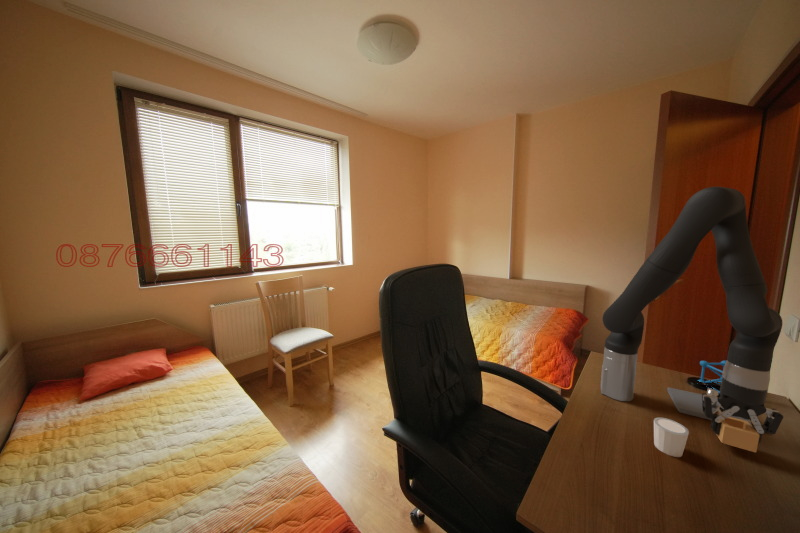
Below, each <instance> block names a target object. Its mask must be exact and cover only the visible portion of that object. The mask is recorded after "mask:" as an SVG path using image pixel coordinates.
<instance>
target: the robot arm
mask: <svg viewBox="0 0 800 533" xmlns="http://www.w3.org/2000/svg"><path fill="white" fill-rule="evenodd" d="M746 205H747V204H746V197H745V195H744V194H743V193H742V192H741V191H739V190H738V189H735V188H733V187H732V188H731V187H723V186H710V187H705V188H703V189H701V190H698V191H697V192H695V193H693V195H692V196H691V197H690V198H688V200H687V202H686V203H685V204H684V206H683V208H682V210H681V211H680V213H679V215H678V216H677V219H675V222H674V224H673V225H672V226H671V228H670V229H669V231H668V232H667V233H666V235H665V236H664V237H663V238H662V239H661V241H660V242H659V243H658V244H657V246H656V247H655V248H654V249H653V251H652V252H651V253H650V254H649V255H648V257H647V258H646V260H645V261H644V262H643V264H642V265H641V266H640V268H639V269H638V270H637V271H636V273H635V275H634V276H633V277H632V279H631V280H630V281H629V283H628V284H627V286H626V287H625V288H624V290H623V292H622V293H621V294H620V295H619V296H618V297H617V298H616V299H615V301H614V302H612V303H611V305H609V307H607V308H606V309H605V311H604V312H603V315H602V323H603V326H604V328H605V329H606V330H608V331H609V332H610V333H609V335H608V336H607V337H606V338H605V340H604V348H603V349H604V350H603V362H602V364H601V374H600V375H601V376H600V385H599V386H600V392H601V395H605V396H607V397H609V398H610V399H613V400H615V401H621V402H631V401H633V399H634V395H635V394H634V391H635V382H636V372H637V361H638V352H639V347H640V346H641V344H642V341H643V335H644V327H645V317H644V314H643V310H644V309H645V308H646V307H647V306H648V305H649V304H650V303H651V302H653V301H655V300H657V299H658V298H659V297H660V296H662V295H663V294H664V293H666V292H667V291H668V290H669V289H670V288H671V287H673V286H674V285H675V283H676V282H677V281H678V280H679V279H680V278H681V277H682V276H683V275H684V274H685V272H686V271H687V269H688V268H689V266H690V264H691V263H692V261H693V258H694V256H695V254H696V251H697V249H698V247H699V244H700V243H701V242H702V241H703V239H704V238H705V237H706V236H708V234H709V233H710V232H711V234H712V235H713V239H714V243H715V251H716V252H715V254H716V255H715V256H716V258H715V259H716V267H717V268H716V269H717V272H718V276H719V279H720V282H721V286H722V288H723V290H724V293H725V299H726V300H725V301H726V310H727V317H728V320H729V322H730V325H731V326H732V328H733V329H734V330H735V331H736V334H735V337H734V339H733V340H732V341H731V342H730V344H729V347H728V351H727V355H726V356H727V357H726V360H725V361H726V364H725V366H723V367H724V370H723V369H722V371H723V372H722V373H721V375H722V374H723V376H722V382H721V385H720V388H719V391H720V393H718V395H717V396H709V395H707V392H706V393H705V392H703V393H702V408H703V412H704V414H705V415H706V417H707V418H711V419H712V420H710V429H711V430H712V432H713V433H714V434H715V435H716V434H717V435H719V434H720V429H721V422H722V421H723V420H724V419H725V418H729V417H730V416H735V417H741V418H744V419H747V420H750V422H751V424H752V426H753V428H754V429H755V430H756V432H757V433H758V434H759V435H760V436H759V441H758V445H759V444H761V442H762V436H763V435H764V433H765V434H767V433H768V434H770V435H775V434H776V433H777V431H778V429H779V427H780V425H781V423H782V421H783V419H784V415H783V414H782V413H781V412H780V411H778V409H777V408H768V407H766V406H765V404H766V401H767V396H768V391H769V386H770V381H771V367H772V363H773V357H774V356H773V353H774V349H775V347H776V345H777V343H778V340H779V338H780V335H781V333H782V329H783V317H782V316H781V315H780V313H779V312H778V311H776V310H775V309H773V308H771V307H769V306H768V302H767V299H766V295H767V294H768V286H767V283H766V281H765V278H764V276H763V275H764V274H763V272H762V270H761V266H760V264H759V262H758V259H757V258H758V257H757V255H756V252H755V250H754V248H753V247H754V246H753V243H752V240H751V236H750V233H749V232H750V231H749V227H748V220H747V219H748V218H747V208H746V207H747V206H746ZM716 401H718V402H719V403H720V404H721V405H720V406H719V407H718V408H717V409H716V411H715V412H714V413H712V405H713V404H714V403H715V402H716ZM763 414H765V415H766V418H765V420H764V422H763V424H762V423H761V422H760V420H759V418H758V417H759V416H761V415H763ZM717 435H716V436H717Z"/></svg>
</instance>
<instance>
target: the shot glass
mask: <svg viewBox="0 0 800 533" xmlns="http://www.w3.org/2000/svg"><path fill="white" fill-rule="evenodd" d="M689 434H690V431H689V429H688V428H687V427H686V426H684V425H683V424H681V423H679V422H677V421H675V420H673V419H671V418H666V417H655V418H654V419H653V444H654V447H655V448H656V449H657V450H659V451H660V452H662V453H664V454H665V455H668V456H671V457H674V458H681V457H683V453H684V450H685V447H686V445H687V441H688V438H689V437H688V436H689Z"/></svg>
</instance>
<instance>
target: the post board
mask: <svg viewBox="0 0 800 533" xmlns="http://www.w3.org/2000/svg"><path fill="white" fill-rule="evenodd" d="M666 391H667V393H668V394H669V397H670V398H671V400H672V402H673V405H674V407H676V409H677V411H678V413H681V414H684V415H688V416H692V417H696V418H697V417H698V418H701V419H705V420H708V421H711V420H712V419H711V418H707V417H706V415H705V414H704V412H703V408H702V394H703V393H702V394H701V393H697V392H691V391H687V390H682V389H677V388H674V387H669V386H667V390H666ZM720 405H721V404H720V403H719V402H718V401H717V406H716V408H712V413H714V412H715V411H716V409H717V408H718V407H719V406H720ZM730 417H733V418H737V419H741V420H745V421H748V422H749V423H750V425H751V426H752V424H751V422H750V420H747V419H744V418H741V417H735V416H730ZM752 427H753V426H752ZM764 434H766V433H763V435H764Z"/></svg>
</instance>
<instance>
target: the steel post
mask: <svg viewBox="0 0 800 533" xmlns="http://www.w3.org/2000/svg"><path fill="white" fill-rule="evenodd" d="M715 389H716V388H715ZM715 389H712V388H709V387H707V390H706V394H707V395H709V396H717V395H718V394H719V393H718V392H719V391H720V390H719V391H717V390H718V389H717V390H715ZM716 406H717V401H716V402H715V403H714V404H713V405H712V408H716Z"/></svg>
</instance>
